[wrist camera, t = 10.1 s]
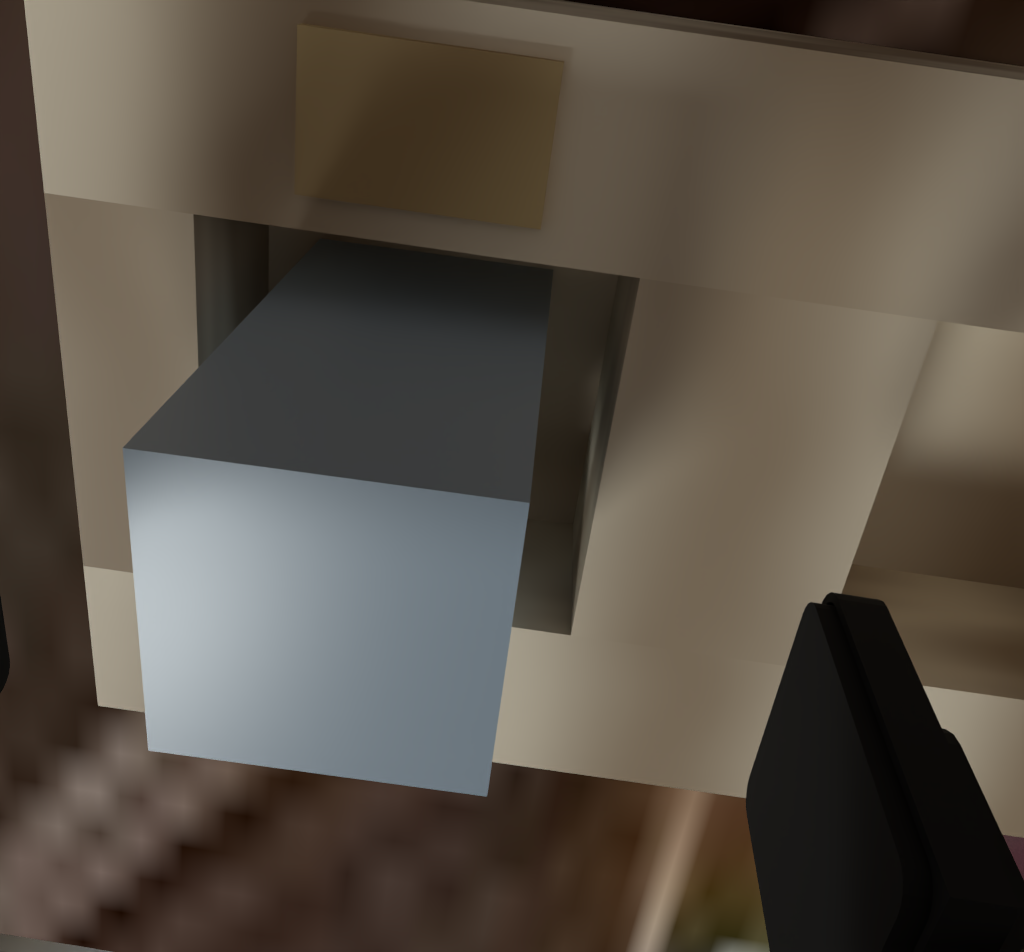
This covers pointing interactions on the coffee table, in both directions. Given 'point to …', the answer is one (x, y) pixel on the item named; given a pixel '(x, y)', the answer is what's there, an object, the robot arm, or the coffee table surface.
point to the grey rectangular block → (344, 520)
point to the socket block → (597, 326)
